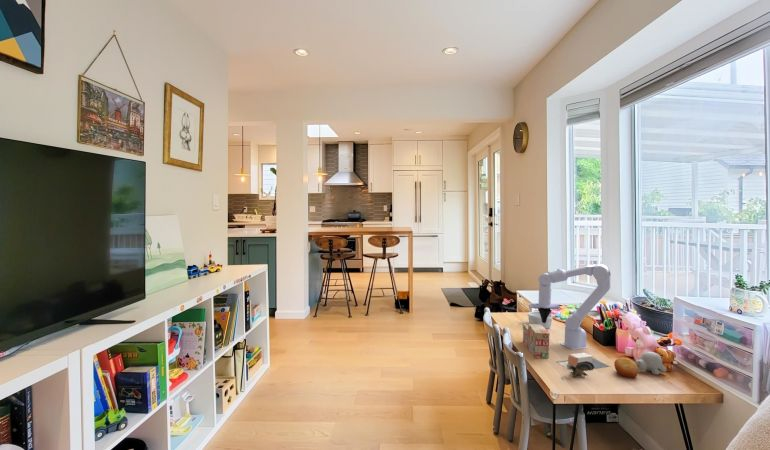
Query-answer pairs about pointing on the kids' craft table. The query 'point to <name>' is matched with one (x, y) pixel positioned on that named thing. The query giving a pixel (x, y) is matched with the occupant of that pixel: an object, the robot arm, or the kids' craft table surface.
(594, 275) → the robot arm
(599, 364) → the mat
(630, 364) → the fruit
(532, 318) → the ramekin
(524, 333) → the stack of blocks
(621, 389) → the kids' craft table surface
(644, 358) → the toy rhinoceros
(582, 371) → the squirrel figurine
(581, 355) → the tall block
